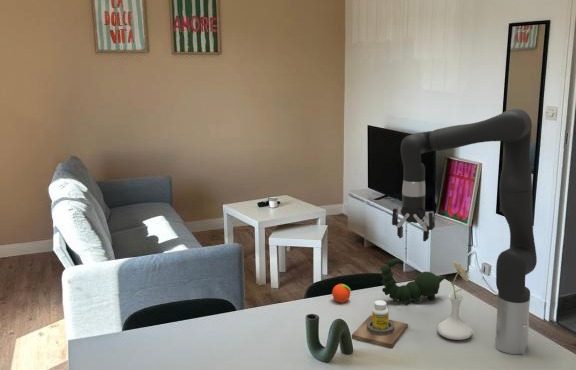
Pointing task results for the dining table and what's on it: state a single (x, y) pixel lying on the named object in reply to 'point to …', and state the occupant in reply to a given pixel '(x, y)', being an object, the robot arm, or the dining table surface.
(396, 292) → the toy figurine
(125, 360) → the dining table surface
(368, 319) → the collar board
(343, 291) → the clementine
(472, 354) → the dining table surface
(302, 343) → the dining table surface
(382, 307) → the supplement bottle
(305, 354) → the dining table surface
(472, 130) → the robot arm
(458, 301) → the flower in vase
